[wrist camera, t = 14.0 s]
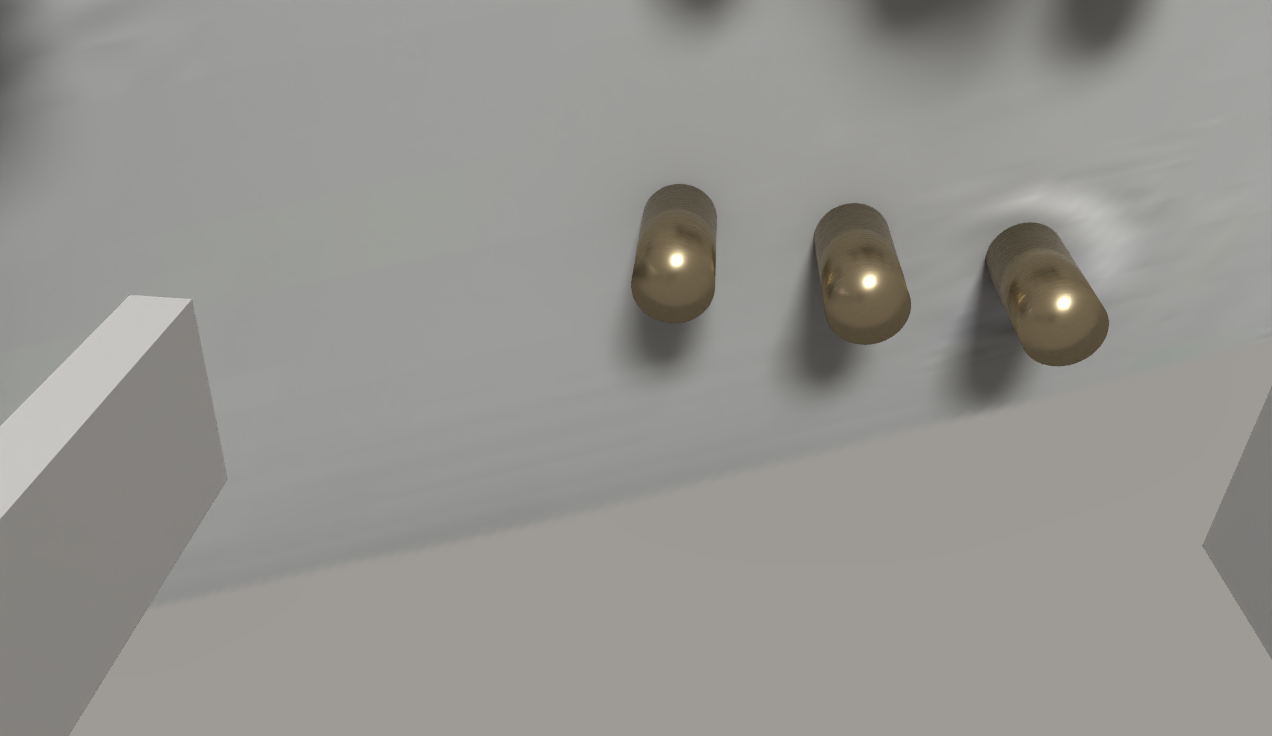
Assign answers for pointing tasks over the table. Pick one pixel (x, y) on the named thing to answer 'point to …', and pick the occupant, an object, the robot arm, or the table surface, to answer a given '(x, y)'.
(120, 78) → the table surface
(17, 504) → the robot arm
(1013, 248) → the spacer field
